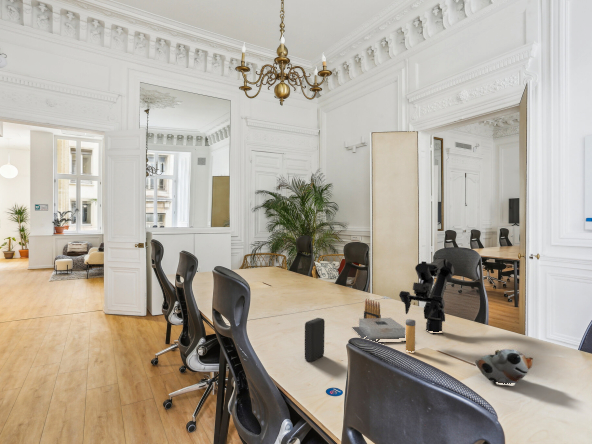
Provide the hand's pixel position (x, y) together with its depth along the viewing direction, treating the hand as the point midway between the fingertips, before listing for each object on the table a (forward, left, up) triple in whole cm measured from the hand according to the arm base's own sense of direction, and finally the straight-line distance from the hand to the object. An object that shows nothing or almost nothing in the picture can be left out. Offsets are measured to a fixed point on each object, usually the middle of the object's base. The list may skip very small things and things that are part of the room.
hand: (416, 315), depth 147 cm
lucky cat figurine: (-15, +33, -14) cm, 38 cm away
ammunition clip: (+6, -37, -14) cm, 40 cm away
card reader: (+46, +7, -14) cm, 49 cm away
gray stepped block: (+9, -17, -13) cm, 23 cm away
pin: (+5, +5, -14) cm, 15 cm away
